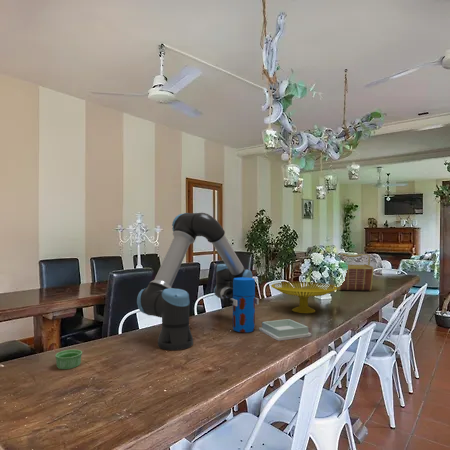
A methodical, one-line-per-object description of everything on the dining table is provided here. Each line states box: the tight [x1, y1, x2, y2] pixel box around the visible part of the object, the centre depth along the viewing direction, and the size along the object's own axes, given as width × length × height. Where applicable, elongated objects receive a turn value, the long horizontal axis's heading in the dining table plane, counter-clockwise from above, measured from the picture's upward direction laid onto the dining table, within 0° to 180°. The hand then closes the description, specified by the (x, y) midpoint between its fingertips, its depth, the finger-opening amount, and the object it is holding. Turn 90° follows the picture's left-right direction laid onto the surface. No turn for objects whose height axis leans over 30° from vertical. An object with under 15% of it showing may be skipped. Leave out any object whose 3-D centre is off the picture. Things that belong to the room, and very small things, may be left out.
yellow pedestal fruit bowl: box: [270, 281, 338, 314], centre depth 219 cm, size 40×40×15 cm
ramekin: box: [54, 349, 83, 370], centre depth 130 cm, size 9×9×4 cm
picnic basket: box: [337, 253, 375, 292], centre depth 298 cm, size 29×26×30 cm
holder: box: [258, 318, 312, 341], centre depth 171 cm, size 18×18×4 cm
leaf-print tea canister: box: [232, 277, 256, 333], centre depth 176 cm, size 11×11×25 cm
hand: (247, 302), depth 172 cm, fingers closed on leaf-print tea canister, 11 cm apart
